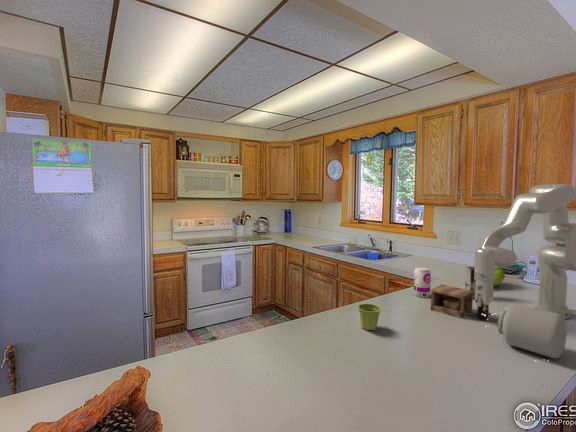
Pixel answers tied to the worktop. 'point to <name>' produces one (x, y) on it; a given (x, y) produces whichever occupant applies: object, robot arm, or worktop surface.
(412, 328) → the worktop surface
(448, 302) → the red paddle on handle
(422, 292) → the supplement can
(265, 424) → the worktop surface
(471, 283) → the coffee box
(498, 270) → the lettuce
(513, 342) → the jar
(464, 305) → the open wooden crate
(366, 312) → the plant pot
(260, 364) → the worktop surface
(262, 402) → the worktop surface
